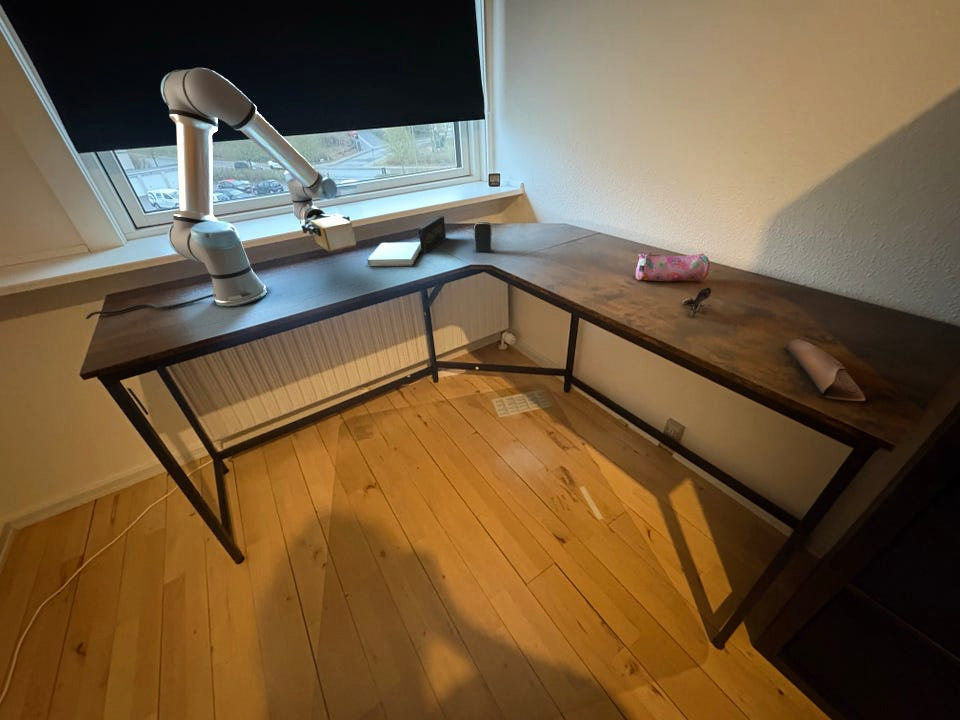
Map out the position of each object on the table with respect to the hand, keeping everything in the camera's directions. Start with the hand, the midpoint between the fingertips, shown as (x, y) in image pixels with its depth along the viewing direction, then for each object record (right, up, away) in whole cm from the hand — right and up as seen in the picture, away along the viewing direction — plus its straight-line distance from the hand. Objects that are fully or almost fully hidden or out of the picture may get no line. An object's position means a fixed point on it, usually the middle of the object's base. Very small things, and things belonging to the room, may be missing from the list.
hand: (334, 229), depth 131 cm
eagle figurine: (+112, -32, -23) cm, 119 cm away
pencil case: (+113, -19, -5) cm, 115 cm away
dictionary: (-2, -4, +5) cm, 7 cm away
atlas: (+16, -4, +22) cm, 28 cm away
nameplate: (+31, +4, +33) cm, 45 cm away
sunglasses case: (+125, -49, -49) cm, 143 cm away
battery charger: (+52, -1, +25) cm, 58 cm away
